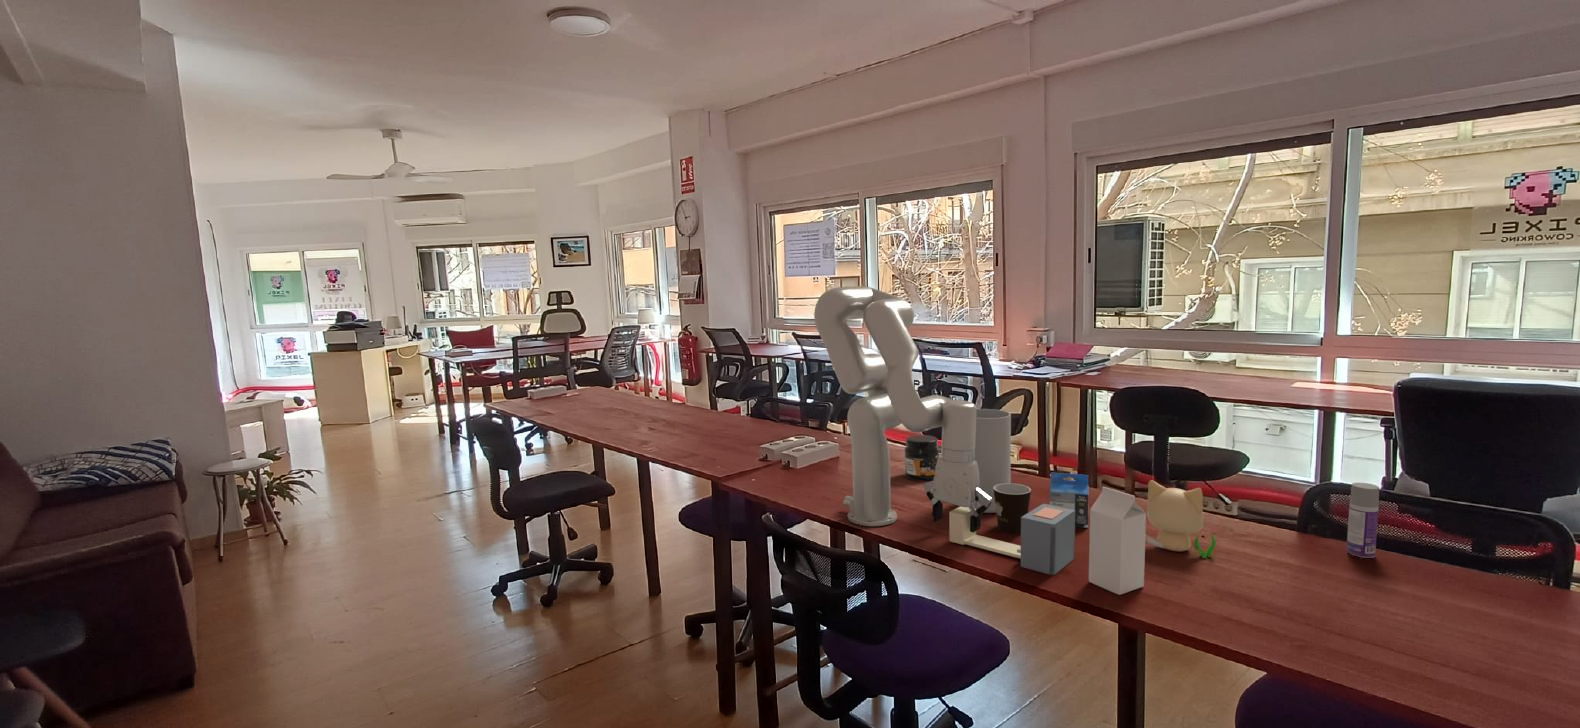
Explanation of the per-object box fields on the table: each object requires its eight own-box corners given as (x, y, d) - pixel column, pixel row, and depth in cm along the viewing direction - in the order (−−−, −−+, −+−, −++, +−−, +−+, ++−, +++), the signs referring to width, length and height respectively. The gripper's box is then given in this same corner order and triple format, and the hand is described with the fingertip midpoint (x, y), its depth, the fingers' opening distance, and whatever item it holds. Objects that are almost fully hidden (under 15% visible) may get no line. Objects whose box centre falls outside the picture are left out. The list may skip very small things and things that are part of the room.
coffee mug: (1033, 536, 163) (1033, 494, 162) (994, 534, 165) (994, 493, 164) (1026, 519, 175) (1026, 480, 173) (990, 517, 176) (990, 479, 175)
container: (1370, 552, 148) (1375, 483, 146) (1378, 560, 144) (1383, 490, 142) (1343, 549, 150) (1348, 481, 148) (1350, 557, 146) (1354, 487, 144)
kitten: (1220, 550, 152) (1223, 483, 150) (1209, 565, 144) (1212, 495, 142) (1146, 535, 162) (1148, 472, 160) (1132, 548, 154) (1134, 482, 153)
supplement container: (904, 481, 209) (904, 442, 208) (904, 471, 220) (904, 434, 218) (940, 482, 208) (940, 442, 206) (938, 472, 218) (938, 434, 216)
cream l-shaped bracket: (949, 541, 161) (949, 512, 160) (962, 533, 165) (962, 505, 165) (1020, 560, 149) (1020, 528, 148) (1032, 551, 154) (1033, 521, 153)
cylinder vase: (1015, 502, 187) (1016, 411, 184) (1002, 517, 177) (1003, 420, 173) (970, 496, 194) (969, 407, 191) (954, 509, 183) (954, 416, 180)
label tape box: (1049, 525, 170) (1049, 476, 168) (1049, 519, 174) (1050, 471, 172) (1088, 529, 167) (1089, 479, 165) (1087, 523, 170) (1088, 474, 169)
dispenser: (1015, 565, 148) (1015, 515, 146) (1037, 549, 156) (1038, 501, 154) (1053, 575, 142) (1054, 523, 141) (1074, 558, 150) (1075, 509, 149)
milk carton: (1119, 596, 132) (1122, 499, 130) (1088, 582, 139) (1090, 489, 136) (1144, 587, 136) (1147, 492, 133) (1112, 574, 142) (1114, 483, 139)
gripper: (917, 450, 163) (915, 520, 166) (984, 465, 152) (981, 540, 154) (934, 444, 169) (932, 512, 171) (1000, 458, 157) (997, 530, 160)
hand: (955, 525), depth 163 cm, fingers open, 9 cm apart
